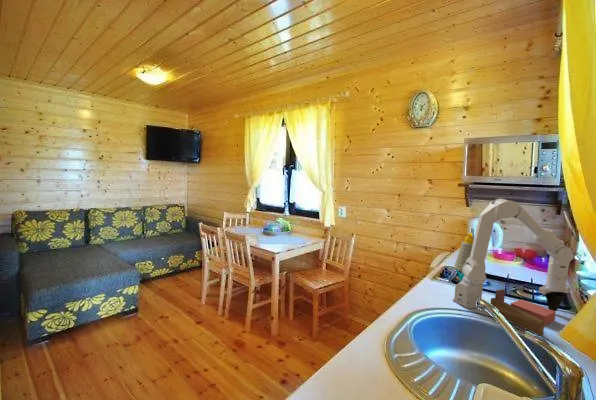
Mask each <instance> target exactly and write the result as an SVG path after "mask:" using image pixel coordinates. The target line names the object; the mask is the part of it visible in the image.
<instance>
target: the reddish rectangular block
mask: <svg viewBox="0 0 596 400" xmlns="http://www.w3.org/2000/svg"><path fill="white" fill-rule="evenodd" d="M510 305H512V306H514V307H516V308H518V309H520V310H522V311H524V312H527V313H529V314H531V315H533V316H535V317H537V318H539V319H541V320H544V321H545V324H544V327H546V326H547V325H549V324H552V323H554V322H555V320H556V315H557V314H556V312H557V311H553V310H550V309H549V308H547V307H544V306H541V305H539V304H536V303H532V302H530V301H528V300H524V299H519V300H515V301H513V302H511V303H510Z"/></svg>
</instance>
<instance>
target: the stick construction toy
mask: <svg viewBox="0 0 596 400" xmlns="http://www.w3.org/2000/svg"><path fill="white" fill-rule="evenodd" d="M461 270H462V269H461ZM455 272H456V273H457V274H458V275H457V274H456V275H454V278H451V279H452V280H453V281H456V280H458V282H459V283H460V282H462V280H463V277H464V274H463V273H462V272H459V271H458V269H456V270H455ZM452 280H451V281H452Z"/></svg>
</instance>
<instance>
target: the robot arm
mask: <svg viewBox="0 0 596 400" xmlns="http://www.w3.org/2000/svg"><path fill="white" fill-rule="evenodd" d="M509 218H514V219H517V220H518V221H519V222H521V223H522V224H523V225H524V226H525V227H526V228H527V229H528V230H530V232H532V233H533V239H534V240H535V241H536V242H537V243H538V244H539V245H540V246H542V248H544V250H546V254H547V255H549V258H548V265H547V266H548V267H547V273H546V274H547V275H546V280H545V281H546V282H545V284H544V285H542V286H540V287H538V293H540V294H542V295H544V296H545V299H546V302H547V307H548V308H547V309H550V310H553V311H556V312H558V309H559V307H560V305H561V303H562V302H563V300H564V299H565V298H566V297H567V296H568V294H567V293H570V292H572V285H569V284H567V282H568V281H567V280H568V274H569V266H570V263H571V262H572V260H574V258H575V257H576V256H575V254H574V252H573V249H572V248H570V247H569V246H567V245H565V241H564V240H561V239H559V237H558V236H556V235H555V234H556V232H555V231H554V230H551V229H549V228H543V227H542V226H541V225H540V224H539V223H538V222H537V221H536V220H535V218H533V217H532V216H531V215H530V214H529V213H528V212H527V211H526V210H525V208H524V207H522V206H520V205H519V203H517V202H516V201H515V200H514V201H513V200H508V199H505V198H496V199H494V200H492V201H489V204H488V205H487V206H486V207H485V208H484V210H482V211H481V213H479V216H478V220H477V224H476V229H475V233H474V236H473V239H474V241H473V246H472V250H471V254H470V257H469V258H468V259H467V260H466V263H465V264H464V265H463V267H462V272H461V274H462V273H463V274H464V277H463V280H461V282H460V281H459V282H458V283H457V284H456V285H455V289H454V298H452V301H454V302H455V303H457V304H459V305H461V306H463V307H464V308H466V309H474V308H477V307H476V301H477V299H479V298H480V299H481V300H482V299H483V298H482V297H483V287H484V283H485V282H486V280H487V275H486V268H487V267H486V261H485V260H486V258H487V257H486V256H487V255H488V254H487V253H488V249H489V244H490V241H491V237H492V232H493V228H494V224H495V223H496V222H499V221H501V220H503V219H509Z"/></svg>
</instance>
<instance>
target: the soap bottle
mask: <svg viewBox="0 0 596 400" xmlns="http://www.w3.org/2000/svg"><path fill="white" fill-rule="evenodd" d="M473 234H474V233H471V232H467V235H466V237H464V241H462V242H461V245H460V247H459V251H458V254H457V257H456V259H455V262H454V266H453V269H454V270H455V271H456V269H458V271H460V273H462V270H461V269H462V267H463V265H464V264H465V263H466V260H467V259H468V258H469V257H470V254H471V250H472V246H473V241H474V235H473Z"/></svg>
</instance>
